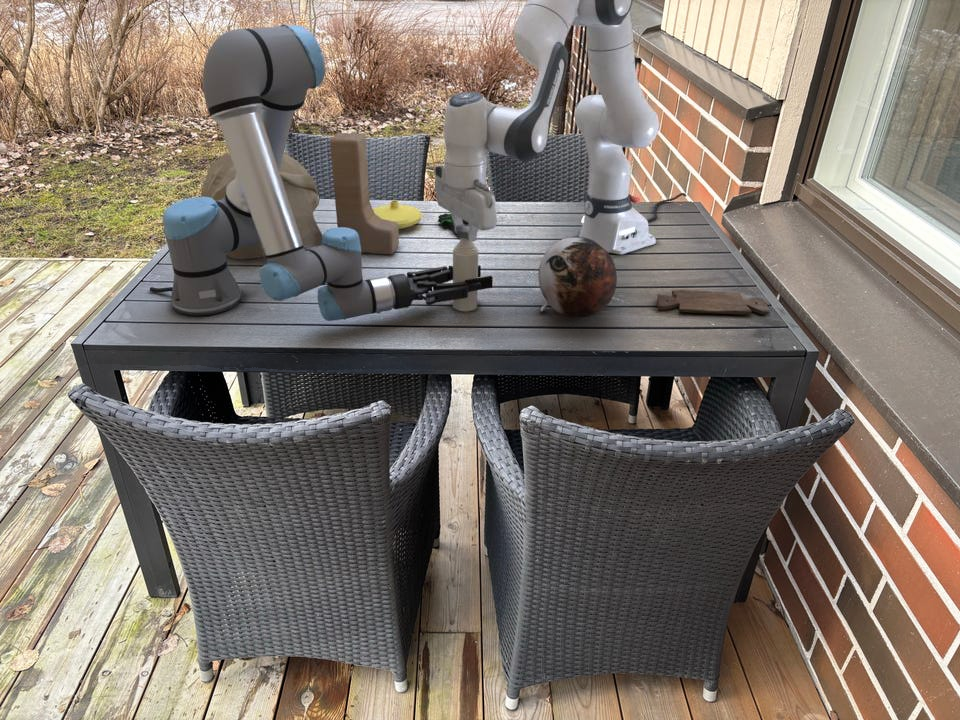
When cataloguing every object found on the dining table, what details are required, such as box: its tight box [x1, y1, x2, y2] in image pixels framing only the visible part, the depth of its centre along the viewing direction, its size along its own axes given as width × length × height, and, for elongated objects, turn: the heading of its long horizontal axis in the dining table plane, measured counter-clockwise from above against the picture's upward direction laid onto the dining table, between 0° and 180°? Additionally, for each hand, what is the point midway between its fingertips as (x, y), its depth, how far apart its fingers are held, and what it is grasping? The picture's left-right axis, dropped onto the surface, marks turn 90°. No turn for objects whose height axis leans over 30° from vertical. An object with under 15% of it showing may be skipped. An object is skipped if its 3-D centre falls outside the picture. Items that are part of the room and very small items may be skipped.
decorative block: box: [329, 132, 400, 255], centre depth 188 cm, size 8×15×30 cm, turn 82°
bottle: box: [452, 238, 479, 312], centre depth 162 cm, size 6×6×18 cm
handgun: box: [437, 212, 468, 237], centre depth 211 cm, size 16×3×15 cm
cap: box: [456, 225, 470, 239], centre depth 157 cm, size 4×4×2 cm
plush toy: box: [537, 236, 618, 319], centre depth 161 cm, size 22×18×20 cm
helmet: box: [200, 133, 323, 260], centre depth 189 cm, size 27×30×30 cm
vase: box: [372, 199, 423, 230], centre depth 210 cm, size 16×16×7 cm
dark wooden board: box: [656, 289, 771, 316], centre depth 168 cm, size 26×2×10 cm
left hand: (485, 276), depth 165 cm, fingers closed on bottle, 6 cm apart
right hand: (465, 236), depth 158 cm, fingers closed on cap, 4 cm apart
